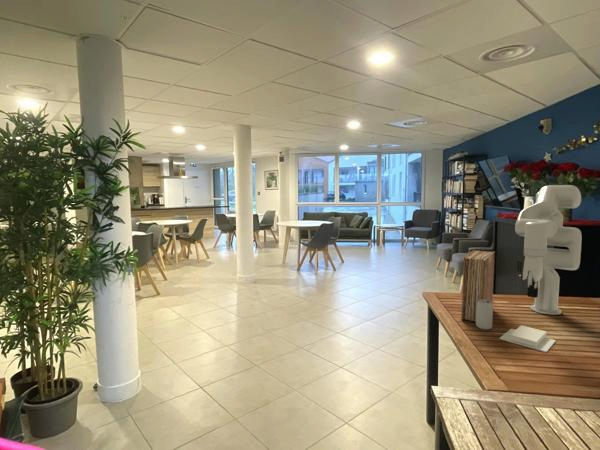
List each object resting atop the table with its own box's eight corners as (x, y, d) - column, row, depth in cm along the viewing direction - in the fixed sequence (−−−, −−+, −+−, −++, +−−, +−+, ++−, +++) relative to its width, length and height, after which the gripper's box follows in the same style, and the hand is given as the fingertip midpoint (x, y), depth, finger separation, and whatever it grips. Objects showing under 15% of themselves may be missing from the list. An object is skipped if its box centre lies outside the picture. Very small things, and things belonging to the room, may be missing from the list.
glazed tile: (521, 325, 147) (510, 334, 138) (546, 331, 141) (536, 341, 131) (520, 330, 148) (509, 340, 138) (545, 336, 141) (536, 347, 132)
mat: (511, 329, 150) (511, 328, 150) (555, 341, 138) (555, 340, 138) (499, 339, 140) (499, 338, 140) (546, 352, 128) (546, 351, 128)
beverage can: (494, 330, 148) (495, 304, 147) (477, 329, 150) (479, 303, 148) (489, 325, 154) (490, 299, 153) (473, 324, 156) (475, 298, 155)
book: (482, 324, 155) (486, 259, 152) (460, 320, 161) (463, 257, 158) (492, 308, 175) (494, 250, 172) (472, 305, 181) (474, 249, 178)
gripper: (529, 248, 145) (527, 290, 148) (518, 254, 135) (516, 299, 138) (551, 250, 140) (548, 294, 142) (540, 256, 130) (538, 303, 132)
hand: (532, 296), depth 140 cm, fingers closed
